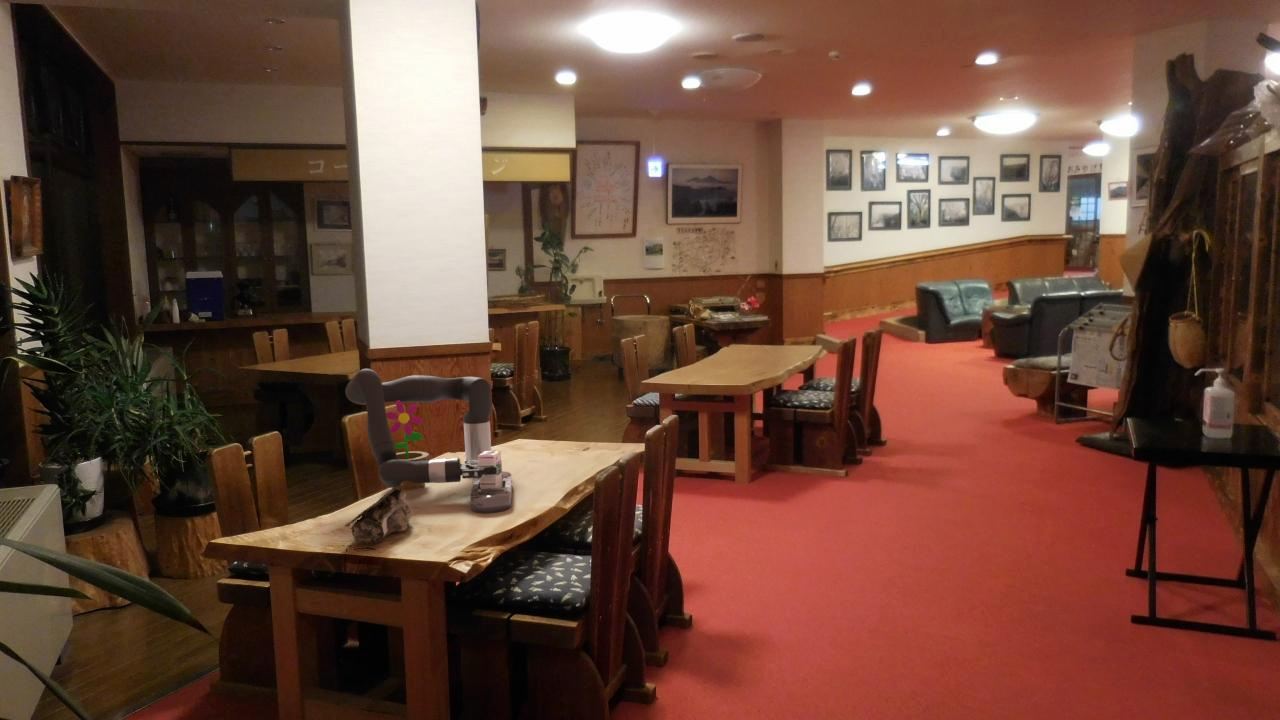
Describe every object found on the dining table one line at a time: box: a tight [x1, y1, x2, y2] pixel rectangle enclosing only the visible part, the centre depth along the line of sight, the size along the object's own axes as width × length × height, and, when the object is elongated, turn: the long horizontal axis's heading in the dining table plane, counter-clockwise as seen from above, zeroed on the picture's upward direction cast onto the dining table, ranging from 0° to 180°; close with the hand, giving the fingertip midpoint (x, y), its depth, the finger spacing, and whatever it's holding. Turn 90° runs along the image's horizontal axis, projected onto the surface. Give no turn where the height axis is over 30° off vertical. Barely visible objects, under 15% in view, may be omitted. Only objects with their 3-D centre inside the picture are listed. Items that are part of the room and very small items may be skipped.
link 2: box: [469, 485, 513, 514], centre depth 280 cm, size 24×12×4 cm, turn 7°
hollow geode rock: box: [344, 484, 414, 546], centre depth 250 cm, size 28×13×15 cm
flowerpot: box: [386, 400, 430, 491], centre depth 302 cm, size 14×14×30 cm
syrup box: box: [478, 450, 503, 489], centre depth 285 cm, size 6×6×14 cm
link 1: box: [471, 470, 513, 491], centre depth 292 cm, size 24×12×4 cm, turn 7°
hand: (496, 467), depth 285 cm, fingers open, 8 cm apart
